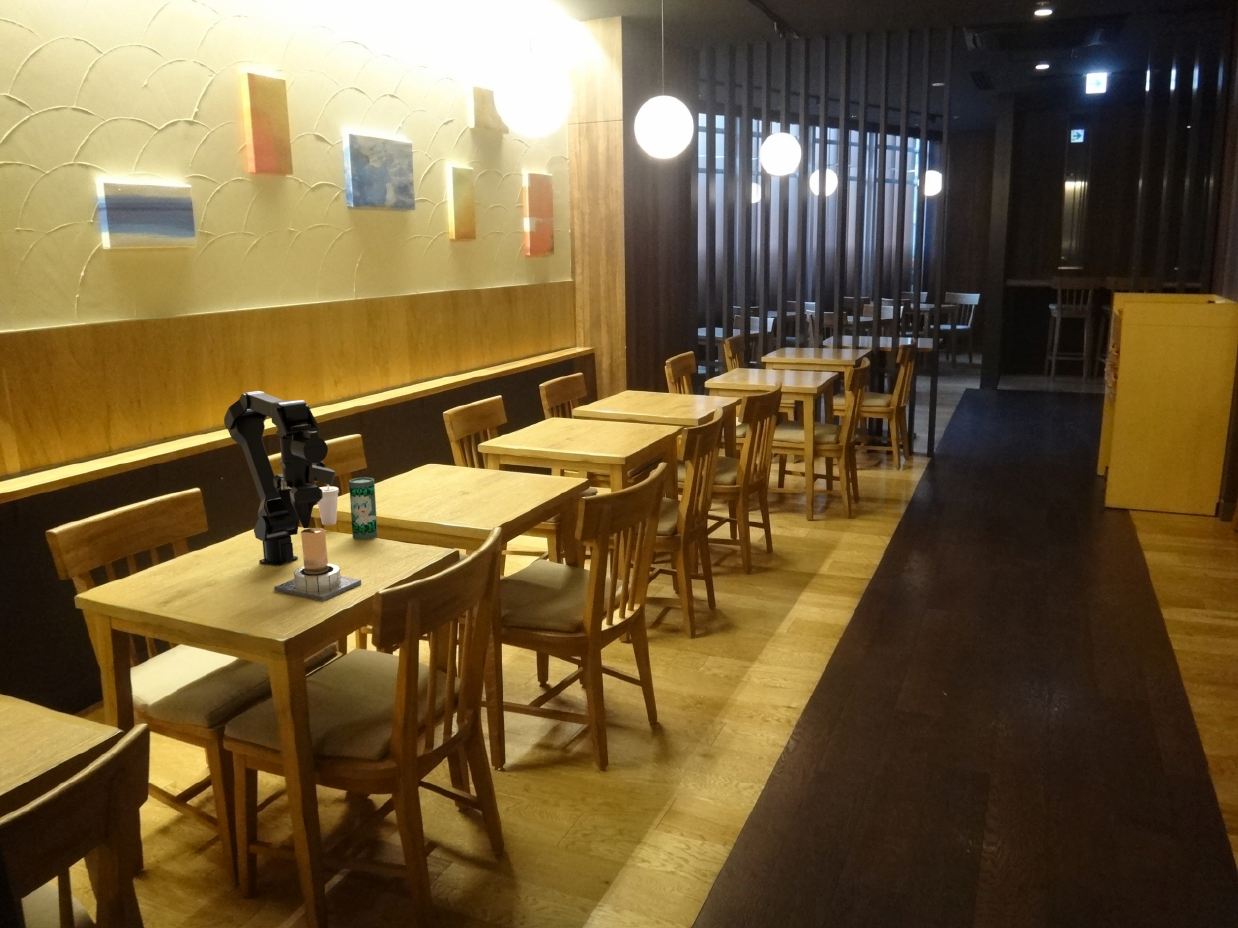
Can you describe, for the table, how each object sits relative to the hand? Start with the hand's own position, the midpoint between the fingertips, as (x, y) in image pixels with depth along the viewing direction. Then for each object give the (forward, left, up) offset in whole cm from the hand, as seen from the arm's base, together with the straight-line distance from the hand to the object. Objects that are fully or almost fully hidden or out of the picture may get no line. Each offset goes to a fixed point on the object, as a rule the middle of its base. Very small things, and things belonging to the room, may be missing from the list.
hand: (300, 523), depth 223 cm
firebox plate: (+10, -6, -12) cm, 17 cm away
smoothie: (-24, +34, -12) cm, 43 cm away
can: (-7, +29, -12) cm, 32 cm away
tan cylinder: (+10, -6, -11) cm, 16 cm away
